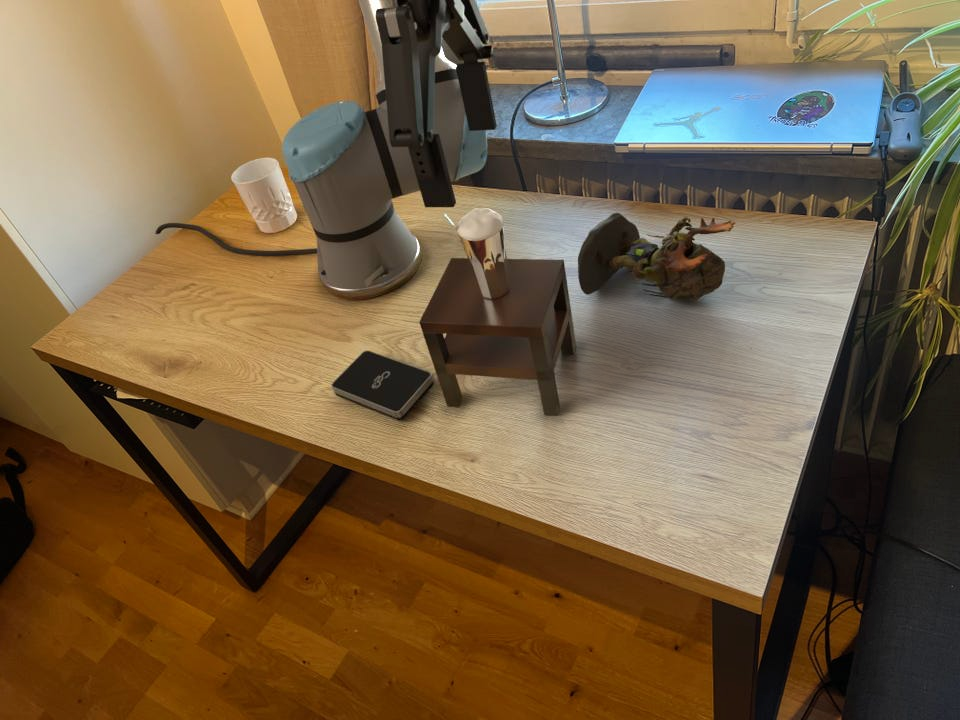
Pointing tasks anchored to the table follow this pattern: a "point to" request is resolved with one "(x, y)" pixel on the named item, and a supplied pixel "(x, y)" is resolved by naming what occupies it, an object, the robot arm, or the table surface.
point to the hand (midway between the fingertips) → (463, 164)
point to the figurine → (652, 258)
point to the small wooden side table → (501, 327)
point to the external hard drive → (383, 384)
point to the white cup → (265, 194)
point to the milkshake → (485, 250)
